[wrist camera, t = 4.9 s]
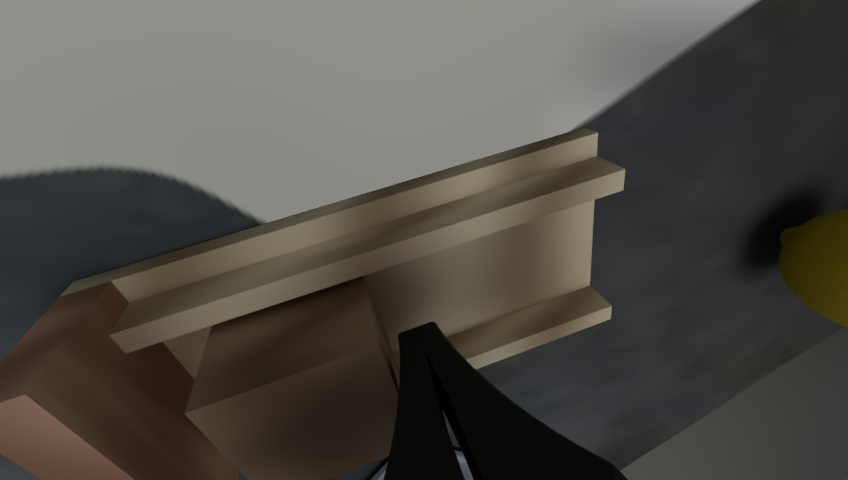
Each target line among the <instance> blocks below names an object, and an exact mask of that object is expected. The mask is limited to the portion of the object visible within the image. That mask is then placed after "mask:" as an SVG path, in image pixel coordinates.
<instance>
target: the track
mask: <svg viewBox="0 0 848 480" xmlns="http://www.w3.org/2000/svg"><path fill="white" fill-rule="evenodd" d="M597 142H598V132H595V131H592V130H589V129H587V128H581V129H578V130H574V131H571V132H568V133H564V134H561V135H558V136H555V137H552V138H548V139H545V140H541V141H538V142H535V143H531V144H528V145H525V146H522V147H518V148H515V149H511V150H508V151H505V152H502V153H498V154H495V155H492V156H488V157H485V158H482V159H479V160H475V161H472V162H469V163H465V164H462V165H459V166H455V167H452V168H448V169H445V170H442V171H439V172H435V173H432V174H429V175H425V176H422V177H419V178H415V179H412V180H409V181H406V182H402V183H399V184H396V185H393V186H389V187H385V188H382V189H379V190H375V191H372V192H369V193H365V194H362V195H359V196H356V197H352V198H349V199H346V200H343V201H339V202H336V203H332V204H329V205H326V206H322V207H319V208H316V209H312V210H309V211H306V212H302V213H299V214H296V215H292V216H289V217H286V218H283V219H280V220H276V221H273V222H269V223H266V224H263V225H259V226H256V227H253V228H249V229H246V230H243V231H239V232H236V233H233V234H229V235H226V236H223V237H220V238H216V239H213V240H210V241H206V242H203V243H200V244H196V245H193V246H190V247H186V248H183V249H180V250H176V251H173V252H170V253H166V254H163V255H160V256H157V257H153V258H150V259H147V260H143V261H140V262H137V263H133V264H130V265H127V266H123V267H120V268H117V269H113V270H110V271H107V272H103V273H100V274H97V275H93V276H90V277H87V278H84V279H80V280H77V281H74V282H72V283H71V284H70V286H69V287H68V288H67V289H66V290H65V291H64V292H63V293H62V294H61V295H60V297H59V298H58V299H57V300H56V301H55V302H54V303H53V304H52V305H51V307H50V308H49V309H48V310H47V311H46V312H45V313H44V314H43V315H42V316H41V318H40V319H39V320H38V321H37V322H36V323H35V324H34V325H33V326H32V328H31V329H30V330H29V331H28V332H27V333H26V334H25V335H24V336H23V337H22V339H21V340H20V341H19V342H18V343H17V344H16V345H15V346H14V347H13V349H12V350H11V351H10V352H9V353H8V354H7V355H6V356H5V357H4V358H3V360H2V361H1V362H0V454H2V455H3V456H5V457H6V458H8V459H9V460H11V461H13V462H14V463H16V464H17V465H19V466H20V467H22V468H23V469H25V470H27V471H28V472H30V473H31V474H33V475H34V476H36V477H38V478H39V479H41V480H238V478H239V471H238V470H237V469H236V468H235V467H234V466H233V464H232V463H231V462H230V461H229V460H228V459H227V458H226V457H225V456H224V455H223V454H222V453H221V452H220V451H219V450H218V449H217V448H216V446H215V445H214V444H213V443H212V442H211V441H210V440H209V439H208V438H207V437H206V436H205V435H204V434H203V433H202V432H201V431H200V430H199V429H198V427H197V426H196V425H195V424H194V423H193V422H192V421H191V420H190V419H189V418H188V417H187V416H186V415H185V414H184V413H185V410H186V407H187V403H188V400H189V397H190V394H191V391H192V387H193V384H194V381H195V378H196V375H197V372H198V368H199V365H200V362H201V359H202V356H203V352H204V349H205V346H206V343H207V340H208V336H209V333H210V330H211V327H212V325H215V324H218V323H221V322H224V321H227V320H230V319H233V318H236V317H239V316H242V315H245V314H248V313H251V312H254V311H257V310H260V309H263V308H266V307H269V306H272V305H275V304H279V303H282V302H285V301H288V300H291V299H294V298H297V297H300V296H303V295H306V294H309V293H312V292H315V291H318V290H321V289H324V288H327V287H330V286H333V285H336V284H339V283H342V282H345V281H348V280H352V279H355V278H358V277H361V276H364V275H365V277H366V280H367V283H368V285H369V288H370V291H371V294H372V296H373V299H374V302H375V305H376V307H377V310H378V313H379V315H380V318H381V321H382V324H383V326H384V329H385V332H386V335H387V337H388V340H389V343H390V346H391V348H392V351H393V354H394V357H395V360H396V364H397V368H398V372H399V375H400V349H399V341H398V335H399V333H400V332H403V331H406V330H409V329H412V328H415V327H418V326H420V325H423V324H426V323H429V322H432V321H433V322H435V323H436V324H437V325H438V327H439V328H440V330H441V331H442V333H443V334H444V335H445V337H446V338H447V339H448V340H449V342H450V343H451V344H452V345H453V346H454V347H455V349H456V350H457V351H458V352H459V353H460V354H461V355H462V356H463V357H464V358H465V359H466V360H467V361H468V362H469V363H470V364H471V366H472V367H473V368H475V369H478V368H481V367H483V366H486V365H489V364H491V363H494V362H497V361H500V360H502V359H505V358H508V357H510V356H513V355H516V354H518V353H521V352H524V351H526V350H529V349H532V348H534V347H537V346H540V345H542V344H545V343H548V342H550V341H553V340H556V339H558V338H561V337H564V336H566V335H569V334H572V333H574V332H577V331H580V330H582V329H585V328H588V327H590V326H593V325H596V324H598V323H601V322H604V321H606V320H609V319H611V309H612V306H611V305H610V304H609V303H608V302H607V301H606V300H605V299H604V298H603V297H602V296H601V295H599V294H598V293H597V292H596V291H595V290H594V289H593V288H592V287H591V286H590V272H591V254H592V235H593V217H594V200H595V199H598V198H601V197H604V196H607V195H610V194H613V193H616V192H619V191H622V190H623V188H624V178H625V169H624V168H622V167H619V166H617V165H615V164H613V163H611V162H608V161H606V160H604V159H602V158H600V157H597Z"/></svg>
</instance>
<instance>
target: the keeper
mask: <svg viewBox="0 0 848 480" xmlns="http://www.w3.org/2000/svg"><path fill="white" fill-rule="evenodd" d="M399 380H400V375H399V372H398V368H397V364H396V360H395V357H394V354H393V351H392V348H391V346H390V343H389V340H388V337H387V335H386V332H385V329H384V326H383V324H382V321H381V318H380V315H379V313H378V310H377V307H376V305H375V302H374V299H373V296H372V294H371V291H370V288H369V285H368V283H367V280H366V277H365V275H364V276H361V277H358V278H355V279H352V280H348V281H345V282H342V283H339V284H336V285H333V286H330V287H327V288H324V289H321V290H318V291H315V292H312V293H309V294H306V295H303V296H300V297H297V298H294V299H291V300H288V301H285V302H282V303H279V304H275V305H272V306H269V307H266V308H263V309H260V310H257V311H254V312H251V313H248V314H245V315H242V316H239V317H236V318H233V319H230V320H227V321H224V322H221V323H218V324H215V325H212V327H211V330H210V333H209V336H208V340H207V343H206V346H205V349H204V352H203V356H202V359H201V362H200V365H199V368H198V372H197V375H196V378H195V381H194V384H193V387H192V391H191V394H190V397H189V400H188V403H187V407H186V410H185V413H184V414H185V415H186V416H187V417H188V418H189V419H190V420H191V421H192V422H193V423H194V424H195V425H196V426H197V427H198V429H199V430H200V431H201V432H202V433H203V434H204V435H205V436H206V437H207V438H208V439H209V440H210V441H211V442H212V443H213V444H214V445H215V446H216V448H217V449H218V450H219V451H220V452H221V453H222V454H223V455H224V456H225V457H226V458H227V459H228V460H229V461H230V462H231V463H232V464H233V466H234V467H235V468H236V469H237V470H238V471H239V472H240V473H241V474H242V475H243V476H244V477H245V478H246V479H247V480H330V479H333V478H335V477H338V476H340V475H343V474H345V473H348V472H350V471H353V470H356V469H358V468H361V467H363V466H366V465H368V464H371V463H373V462H376V461H379V460H381V459H384V458H386V457H389V453H390V449H391V443H392V438H393V433H394V427H395V420H396V413H397V404H398V395H399Z"/></svg>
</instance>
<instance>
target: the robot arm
mask: <svg viewBox="0 0 848 480" xmlns="http://www.w3.org/2000/svg"><path fill="white" fill-rule="evenodd" d="M398 341H399V349H400V380H399V395H398V404H397V413H396V420H395V427H394V433H393V438H392V443H391V449H390V453H389V458H388V462H387V463H386V464H385V465H384V466H383V467H382V468H381V469H380V470H379V471H378V472H377V473H376V474H375V475H374V477H373V478H372V479H371V480H628V479H627V478H626V477H625V476H624V475H623V474H622V473H621V472H620V471H619V470H618V469H617V468H616V467H615V466H614V465H613V464H612V463H610V462H608V461H607V460H605V459H603V458H601V457H599V456H597V455H595V454H593V453H592V452H590V451H588V450H586V449H584V448H583V447H581V446H579V445H577V444H576V443H574V442H572V441H571V440H569V439H567V438H566V437H564V436H562V435H561V434H559V433H557V432H556V431H554V430H553V429H551V428H550V427H548V426H547V425H545V424H544V423H542V422H541V421H539V420H538V419H536V418H535V417H533V416H532V415H530V414H529V413H527V412H526V411H525V410H523V409H522V408H521V407H519V406H518V405H517V404H515V403H514V402H513V401H511V400H510V399H509V398H508V397H506V396H505V395H504V394H502V393H501V392H500V391H499V390H498V389H496V388H495V387H494V386H493V385H492V384H491V383H490V382H488V381H487V380H486V379H485V378H484V377H483V376H482V375H481V374H480V373H479V372H478V371H477V370H476V369H475V368H473V367H472V366H471V364H470V363H469V362H468V361H467V360H466V359H465V358H464V357H463V356H462V355H461V354H460V353H459V352H458V351H457V350H456V349H455V347H454V346H453V345H452V344H451V343H450V342H449V340H448V339H447V338H446V337H445V335H444V334H443V333H442V331H441V330H440V328H439V327H438V325H437V324H436V323H435V322H433V321H432V322H429V323H426V324H423V325H420V326H418V327H415V328H412V329H409V330H406V331H403V332H400V333H399V335H398ZM441 406H442V407H441ZM442 408H443V411H444V413H445V415H446V417H447V420H448V422H449V424H450V426H451V428H452V431H453V433H454V435H455V437H456V439H457V442H458V444H459V446H460V448H461V451H462V452H460V451H455V450H454V448H453V445H452V442H451V439H450V436H449V434H448V431H447V427H446V423H445V419H444V415H443V411H442ZM844 480H848V478H846V479H844Z"/></svg>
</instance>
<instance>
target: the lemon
mask: <svg viewBox="0 0 848 480" xmlns="http://www.w3.org/2000/svg"><path fill="white" fill-rule="evenodd" d="M780 240H781V244H782V249H781V252H780V256H779V266H780V272H781V275H782V277H783V279H784V281H785V283H786V284H787V286H788V287H789V288H790V290H791V291H792V292H793V293H794V294H795V296H797V297H798V298H799V299H800V300H801V301H802V302H803V303H804V304H806V305H807V306H808V307H810V308H811V309H813V310H814V311H816V312H817V313H819V314H821V315H822V316H824V317H826V318H828V319H830V320H832V321H833V322H836V323H838V324H840V325H842V326H844V327H847V328H848V210H843V211H836V212H831V213H827V214H824V215H821V216H818V217H816V218H813V219H811V220H809V221H807V222H806V223H804V224H803V225H801V226H796V227H791V228H787V229H785V230H784V231H783V232H782V233H781V235H780Z"/></svg>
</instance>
